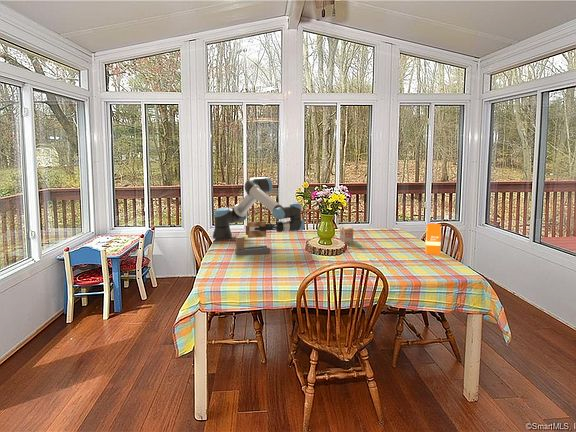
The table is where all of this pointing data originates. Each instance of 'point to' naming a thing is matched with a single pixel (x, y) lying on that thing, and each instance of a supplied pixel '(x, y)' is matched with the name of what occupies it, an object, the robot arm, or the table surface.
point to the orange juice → (433, 239)
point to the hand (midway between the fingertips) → (248, 228)
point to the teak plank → (255, 233)
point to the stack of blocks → (346, 235)
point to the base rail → (249, 248)
